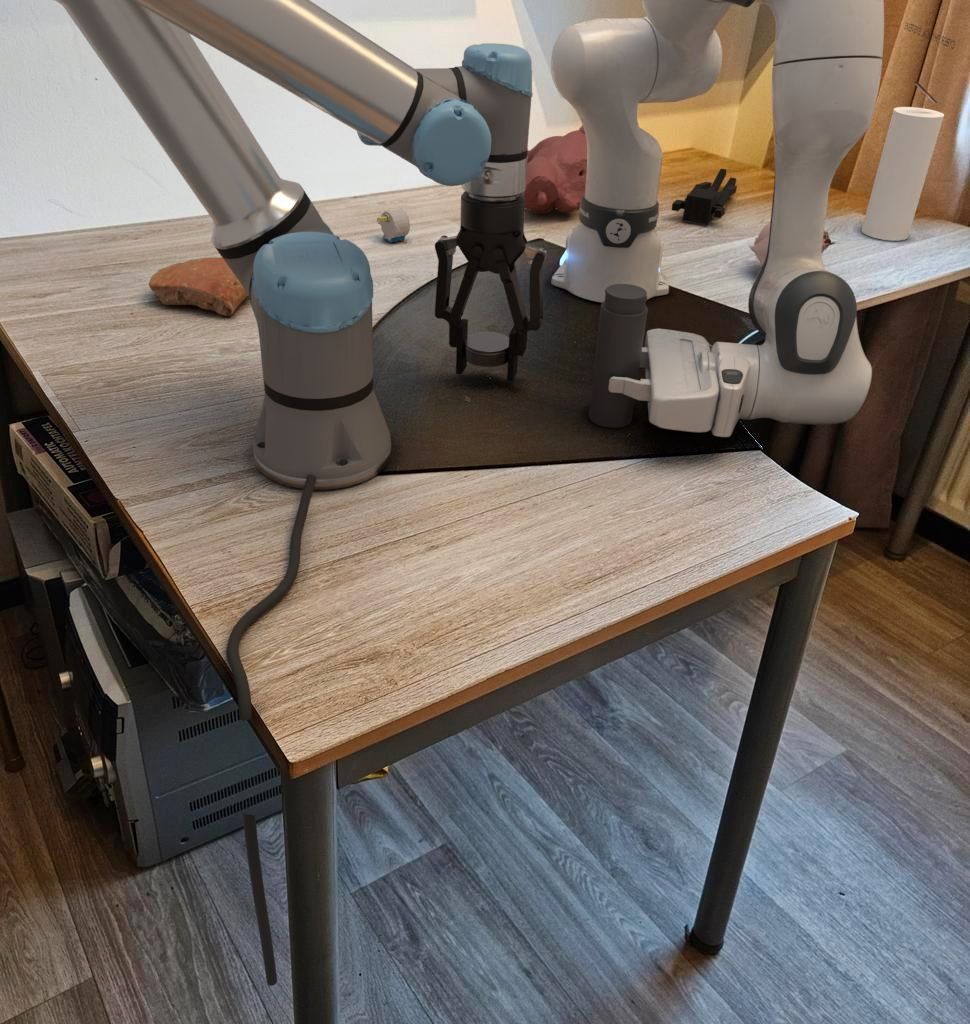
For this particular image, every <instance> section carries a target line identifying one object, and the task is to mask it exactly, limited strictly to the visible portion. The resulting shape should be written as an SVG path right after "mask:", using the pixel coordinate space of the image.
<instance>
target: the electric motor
mask: <svg viewBox="0 0 970 1024" xmlns="http://www.w3.org/2000/svg"><path fill="white" fill-rule="evenodd" d="M376 222H377V224H378V225H380V227H381V231H382V233H383V238H384V240H385V241H388V242H389V243H394V242H395V243H396V242H399V241H404V240H405V238H406V236H407V235H409V233H410V229H411V222H410V218H409V216H408V213H407V212H406V210H404V209H403V208H397V209H392V210H387V211H384V212H383V213H382V214H381V216H378V217H377V218H376Z"/></svg>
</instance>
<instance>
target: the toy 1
mask: <svg viewBox="0 0 970 1024" xmlns="http://www.w3.org/2000/svg"><path fill="white" fill-rule="evenodd" d="M727 171H728V170H727V169H726V168H720V169H719V171H718V173H717V175H716V177H715V178H714V180H713V182H710V181H704V182H700V183H697V184H695V185H694V187H693V188H692V190H691V191H690V192H688V193H687V195H686V197H685V198H684V200H683V199H676V200H674V201H673V202H672V205H671V211H673V212H680V210H683V216H682V221H683V222H687V223H693V224H699V225H706V226H707V225H709V223H711V221H712V220H713V218H716V219H722V217H723V216H724V215H725V212H726V204H727V203H728V201H729V199H730V198H731V197H732V196H734V195H735V194H736V193H737V188H738V185H736V182H737V177H732V176H731V177H730V178H729V179H728V180H727V182H726V183H725V185H724V187H723V188H722V190H719V189H720V188H721V186H722V184H723V181H724V180H725V178H726V176H727Z"/></svg>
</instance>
